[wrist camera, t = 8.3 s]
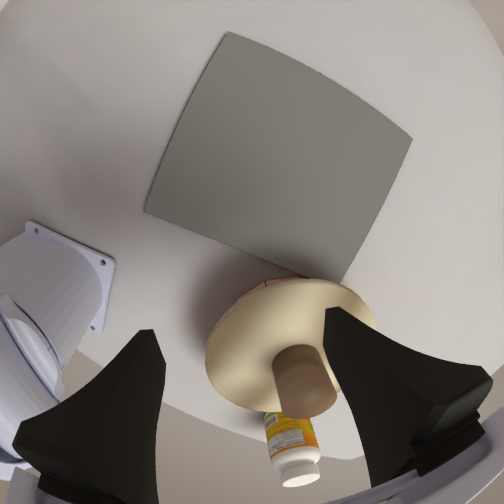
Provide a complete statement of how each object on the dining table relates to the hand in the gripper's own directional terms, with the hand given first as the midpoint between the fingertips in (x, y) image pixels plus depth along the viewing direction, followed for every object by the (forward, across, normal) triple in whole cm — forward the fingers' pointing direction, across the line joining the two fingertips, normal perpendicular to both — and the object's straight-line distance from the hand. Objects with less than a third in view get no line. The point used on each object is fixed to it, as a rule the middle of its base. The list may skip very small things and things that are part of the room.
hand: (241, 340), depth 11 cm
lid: (+6, -4, +7) cm, 10 cm away
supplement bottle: (+10, -4, +22) cm, 24 cm away
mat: (+10, -5, -6) cm, 12 cm away
